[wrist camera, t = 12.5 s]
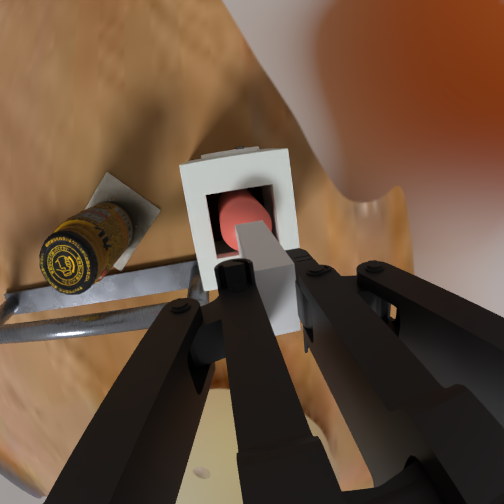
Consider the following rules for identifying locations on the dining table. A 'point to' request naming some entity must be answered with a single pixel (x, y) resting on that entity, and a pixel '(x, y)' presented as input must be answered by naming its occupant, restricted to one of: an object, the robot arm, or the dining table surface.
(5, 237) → the dining table surface
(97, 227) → the condiment
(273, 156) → the cabinet
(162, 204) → the dining table surface
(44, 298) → the handrail
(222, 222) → the plunger
